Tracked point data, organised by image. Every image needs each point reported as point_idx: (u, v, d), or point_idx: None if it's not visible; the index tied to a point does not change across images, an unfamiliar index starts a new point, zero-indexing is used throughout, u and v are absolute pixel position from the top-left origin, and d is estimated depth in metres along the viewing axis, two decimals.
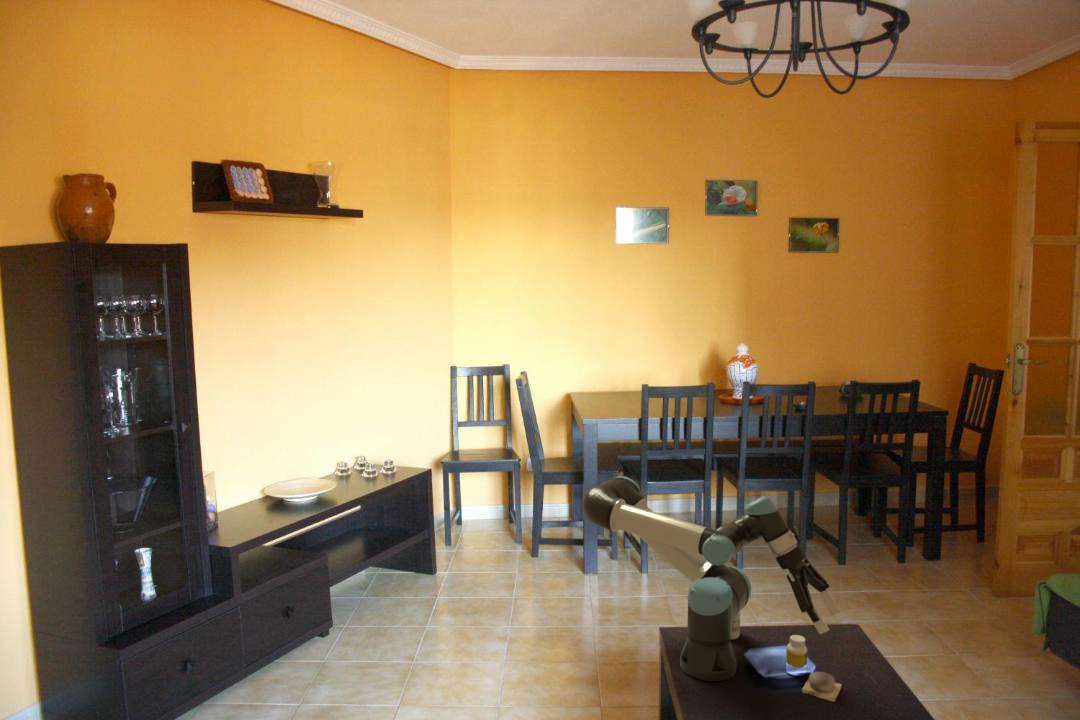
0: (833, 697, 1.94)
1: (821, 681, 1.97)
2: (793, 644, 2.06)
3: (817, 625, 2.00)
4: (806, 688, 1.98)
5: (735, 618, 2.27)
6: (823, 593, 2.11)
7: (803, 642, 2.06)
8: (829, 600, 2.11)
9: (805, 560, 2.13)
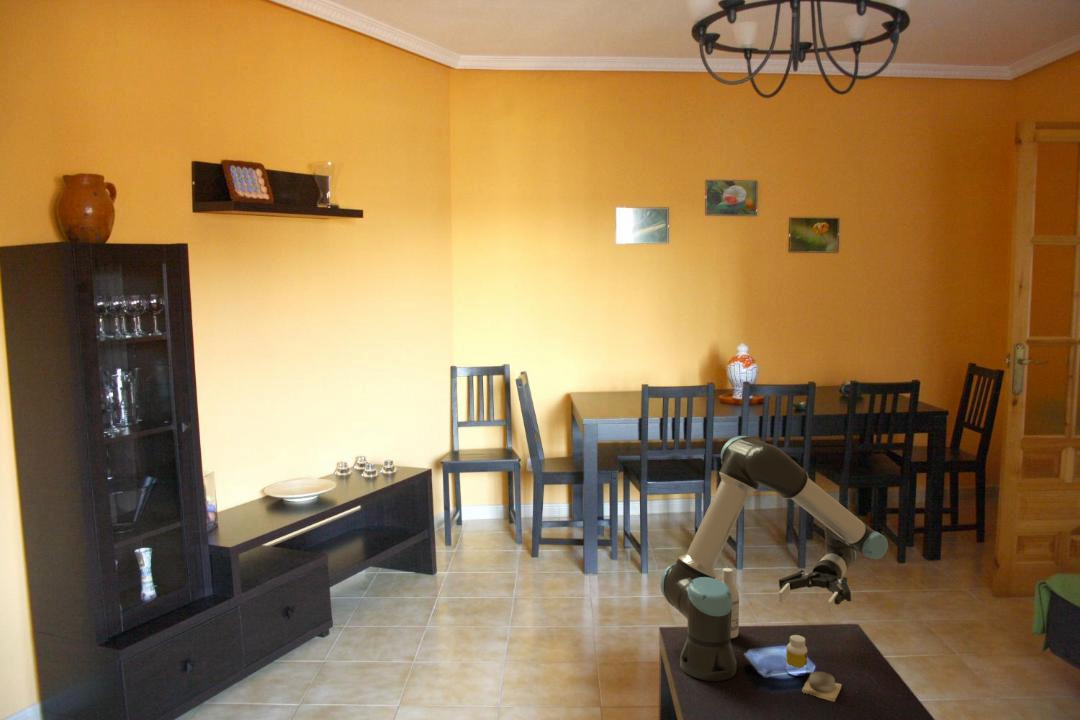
0: (833, 697, 1.94)
1: (821, 681, 1.97)
2: (793, 644, 2.06)
3: (833, 600, 2.09)
4: (806, 688, 1.98)
5: (733, 617, 2.26)
6: (789, 588, 2.21)
7: (803, 642, 2.06)
8: (786, 593, 2.19)
9: None
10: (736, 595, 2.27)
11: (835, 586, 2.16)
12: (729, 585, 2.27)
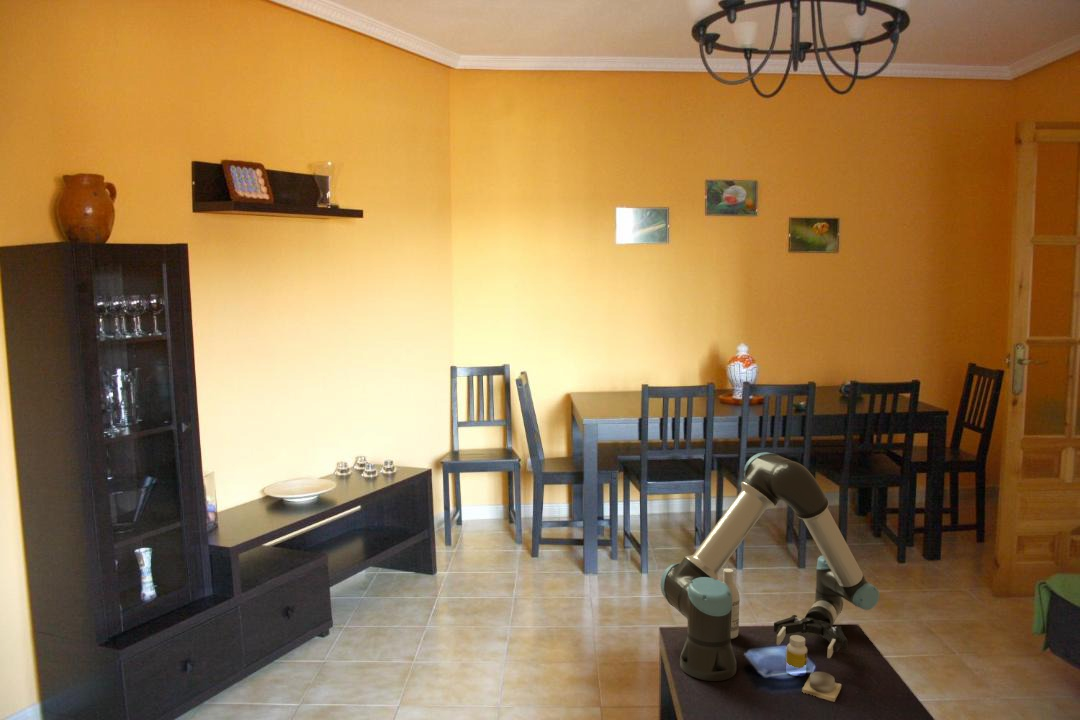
0: (833, 697, 1.94)
1: (821, 681, 1.97)
2: (793, 644, 2.06)
3: (832, 647, 2.09)
4: (806, 688, 1.98)
5: (733, 618, 2.26)
6: (785, 632, 2.19)
7: (803, 642, 2.06)
8: (782, 636, 2.17)
9: None
10: (736, 596, 2.26)
11: (831, 633, 2.16)
12: (730, 586, 2.27)
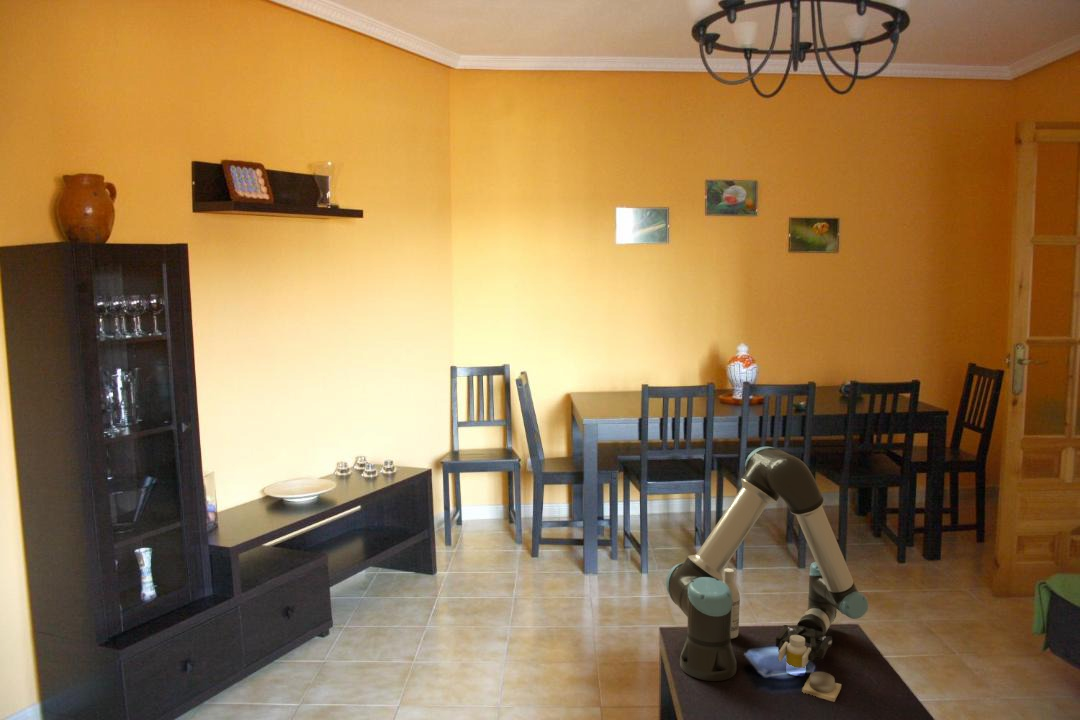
0: (833, 697, 1.94)
1: (821, 681, 1.97)
2: (793, 644, 2.06)
3: (807, 657, 2.03)
4: (806, 688, 1.98)
5: (733, 618, 2.26)
6: None
7: (803, 642, 2.06)
8: (785, 652, 2.08)
9: None
10: (737, 596, 2.27)
11: (813, 642, 2.10)
12: (730, 586, 2.27)
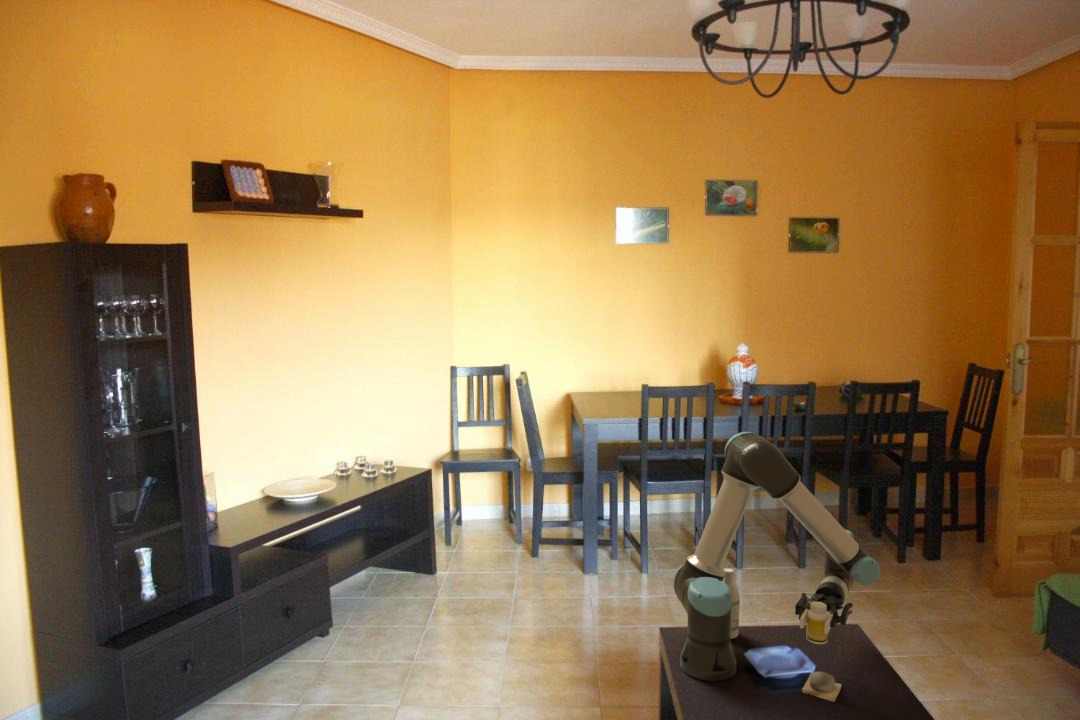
0: (833, 697, 1.94)
1: (821, 681, 1.97)
2: (814, 610, 1.99)
3: (829, 623, 1.96)
4: (806, 688, 1.98)
5: (733, 618, 2.26)
6: None
7: (825, 608, 1.99)
8: (806, 619, 2.01)
9: None
10: (737, 596, 2.27)
11: (834, 609, 2.03)
12: (730, 586, 2.27)
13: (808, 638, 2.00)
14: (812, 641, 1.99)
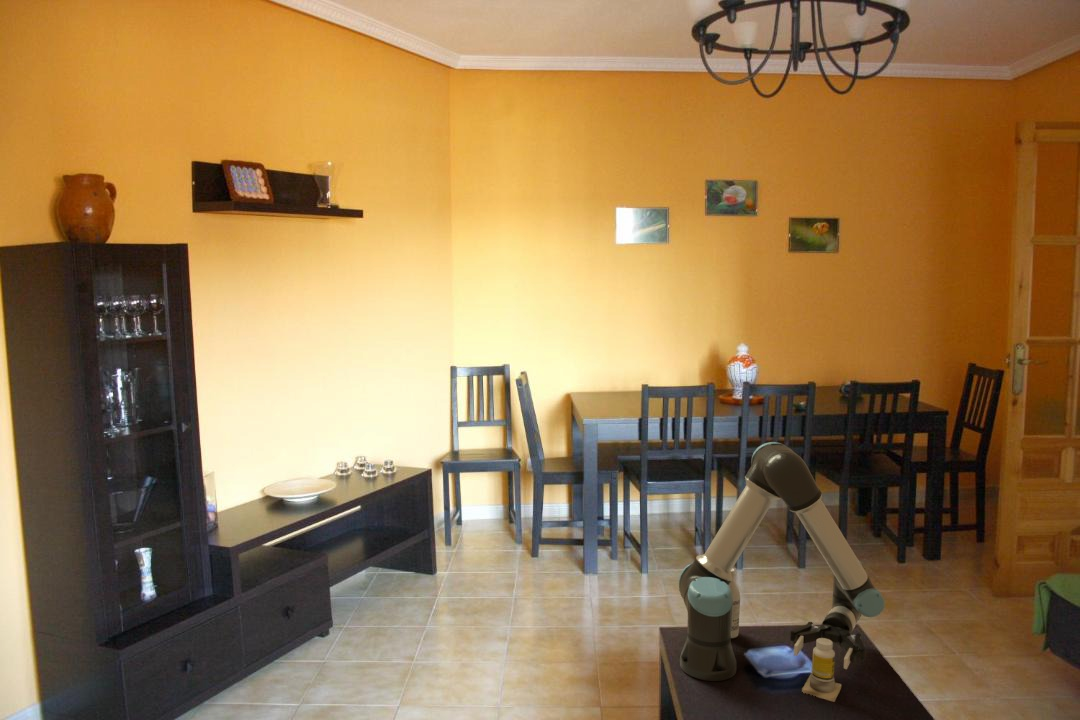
0: (833, 697, 1.94)
1: (821, 681, 1.97)
2: (820, 647, 1.97)
3: (849, 657, 1.93)
4: (806, 688, 1.98)
5: (733, 617, 2.26)
6: (802, 641, 2.03)
7: (830, 645, 1.96)
8: (800, 646, 2.01)
9: None
10: (737, 595, 2.27)
11: (849, 642, 2.00)
12: (731, 585, 2.27)
13: (814, 675, 1.98)
14: (817, 678, 1.97)
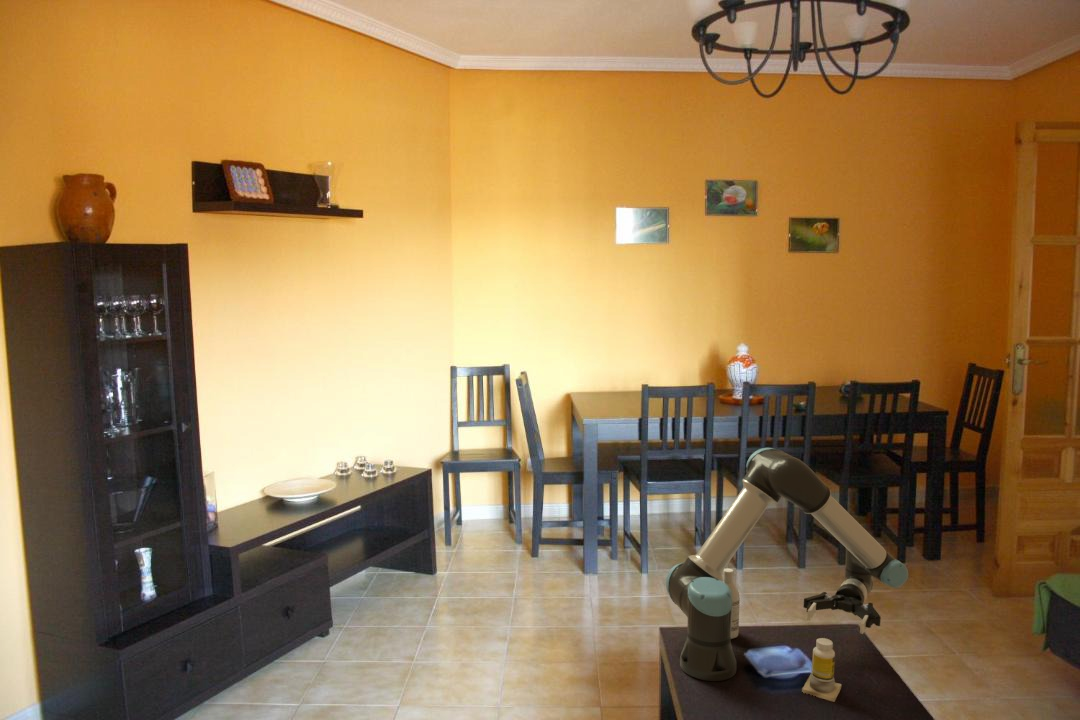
0: (833, 697, 1.94)
1: None
2: (820, 648, 1.97)
3: (865, 623, 2.04)
4: (806, 688, 1.98)
5: (733, 618, 2.26)
6: (815, 608, 2.15)
7: (830, 645, 1.96)
8: (813, 612, 2.13)
9: None
10: (737, 596, 2.27)
11: (863, 610, 2.11)
12: (730, 586, 2.27)
13: (814, 675, 1.98)
14: (817, 678, 1.97)
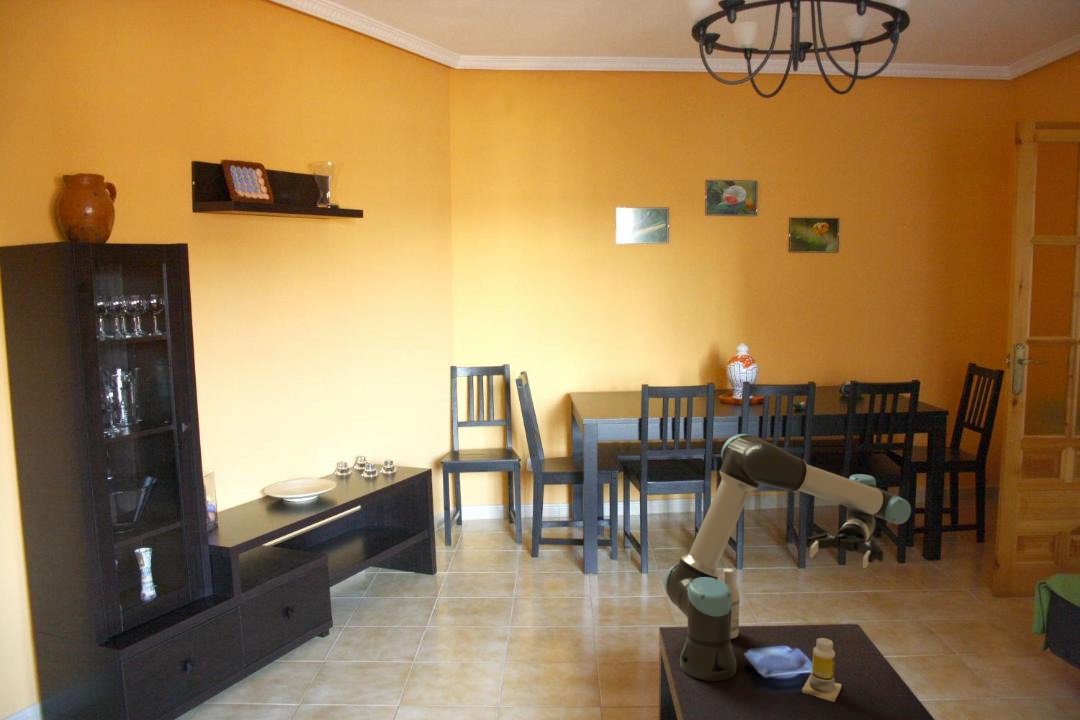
0: (833, 697, 1.94)
1: (821, 681, 1.97)
2: (820, 647, 1.97)
3: (867, 558, 2.04)
4: (806, 688, 1.98)
5: (733, 618, 2.26)
6: (817, 546, 2.14)
7: (831, 645, 1.96)
8: (815, 550, 2.12)
9: None
10: (737, 596, 2.27)
11: (866, 546, 2.11)
12: (730, 586, 2.27)
13: (814, 675, 1.98)
14: (817, 678, 1.97)
